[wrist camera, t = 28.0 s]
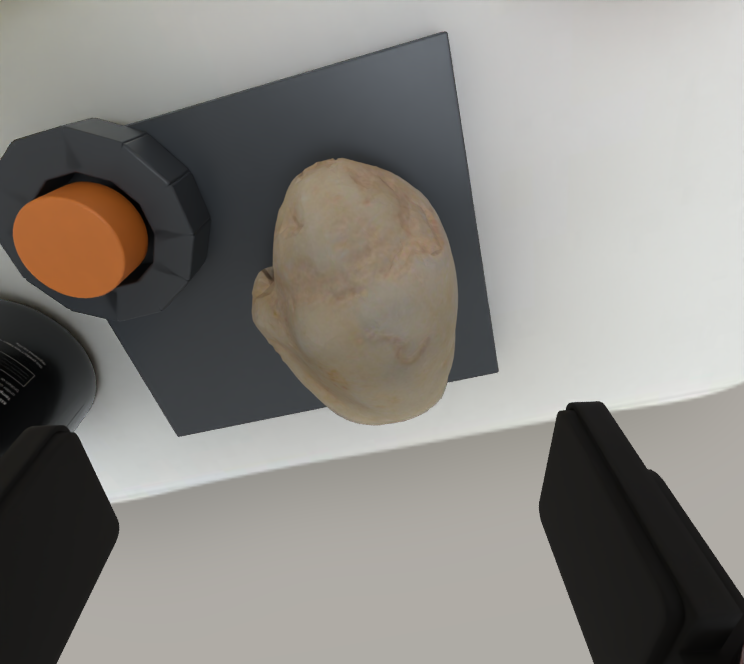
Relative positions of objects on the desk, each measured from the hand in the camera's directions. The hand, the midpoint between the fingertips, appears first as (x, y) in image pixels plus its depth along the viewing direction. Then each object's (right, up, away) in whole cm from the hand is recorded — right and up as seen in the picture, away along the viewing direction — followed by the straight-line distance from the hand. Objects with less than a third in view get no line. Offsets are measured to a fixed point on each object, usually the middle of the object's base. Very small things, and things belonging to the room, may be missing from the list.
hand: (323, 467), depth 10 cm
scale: (-2, +5, +9) cm, 10 cm away
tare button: (-7, +6, +5) cm, 11 cm away
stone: (+2, +2, +9) cm, 10 cm away
